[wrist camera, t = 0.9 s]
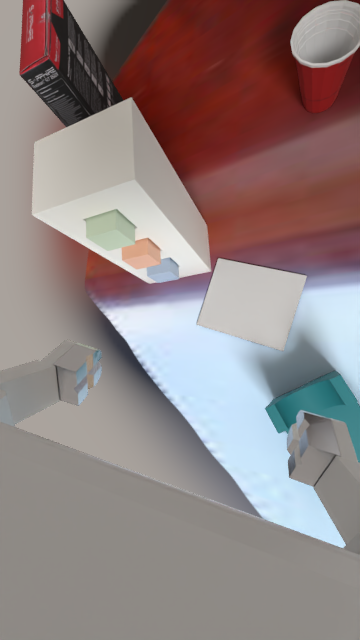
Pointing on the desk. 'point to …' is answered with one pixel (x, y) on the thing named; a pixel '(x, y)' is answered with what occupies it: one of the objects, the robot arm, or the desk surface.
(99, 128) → the button panel
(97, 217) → the sage button
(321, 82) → the plastic cup
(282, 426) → the teal l-shaped bracket
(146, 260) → the terracotta button
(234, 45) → the desk surface
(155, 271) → the slate button
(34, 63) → the graphics card box
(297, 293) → the paper stack
